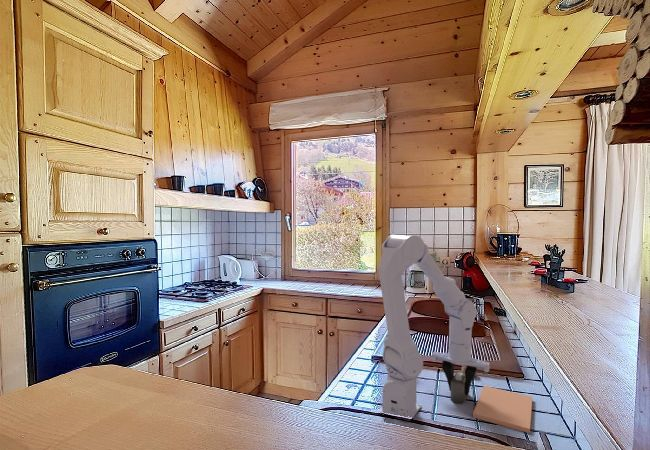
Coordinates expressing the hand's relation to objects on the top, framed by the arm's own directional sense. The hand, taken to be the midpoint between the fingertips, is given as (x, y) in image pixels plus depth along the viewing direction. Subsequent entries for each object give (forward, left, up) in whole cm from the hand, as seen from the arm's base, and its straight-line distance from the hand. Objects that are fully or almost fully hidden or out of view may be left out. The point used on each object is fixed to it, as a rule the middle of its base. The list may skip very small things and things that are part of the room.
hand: (459, 391), depth 96 cm
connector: (0, 0, -1) cm, 1 cm away
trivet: (0, -11, -1) cm, 11 cm away
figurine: (+17, +1, -2) cm, 17 cm away
